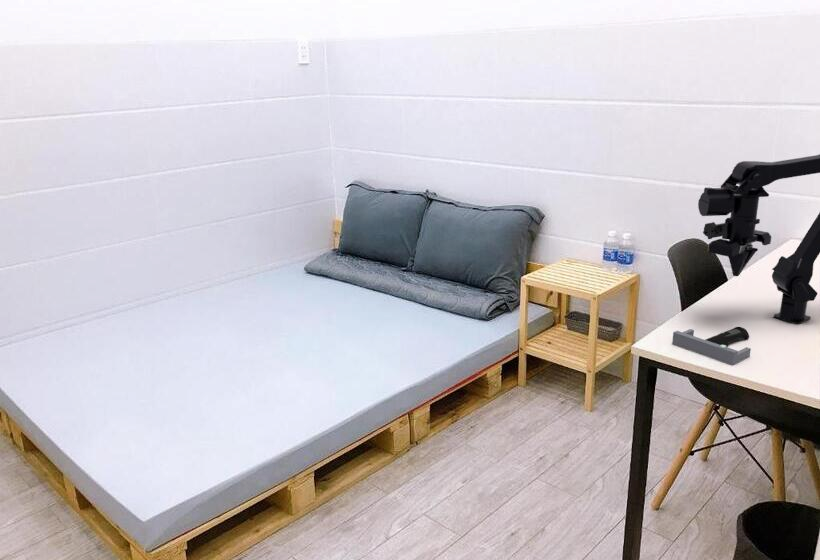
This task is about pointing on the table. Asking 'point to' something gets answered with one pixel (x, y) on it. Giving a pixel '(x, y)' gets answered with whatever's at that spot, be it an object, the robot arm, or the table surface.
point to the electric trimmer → (729, 336)
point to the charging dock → (709, 347)
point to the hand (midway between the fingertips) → (735, 275)
